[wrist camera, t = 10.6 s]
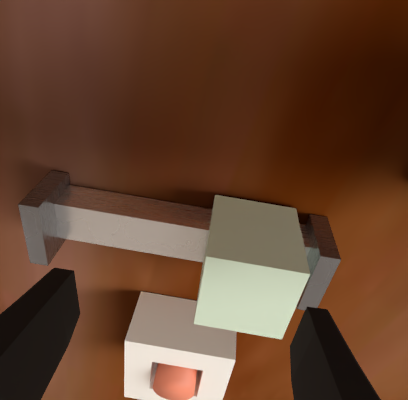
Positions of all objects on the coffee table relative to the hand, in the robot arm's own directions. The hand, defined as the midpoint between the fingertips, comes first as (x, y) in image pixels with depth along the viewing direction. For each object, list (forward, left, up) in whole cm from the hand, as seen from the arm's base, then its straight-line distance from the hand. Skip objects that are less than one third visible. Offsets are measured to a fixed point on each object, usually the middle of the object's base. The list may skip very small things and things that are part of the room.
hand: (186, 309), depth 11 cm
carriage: (-3, +4, -9) cm, 11 cm away
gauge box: (0, +14, -9) cm, 17 cm away
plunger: (0, +14, -9) cm, 17 cm away
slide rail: (+1, +4, -9) cm, 10 cm away
